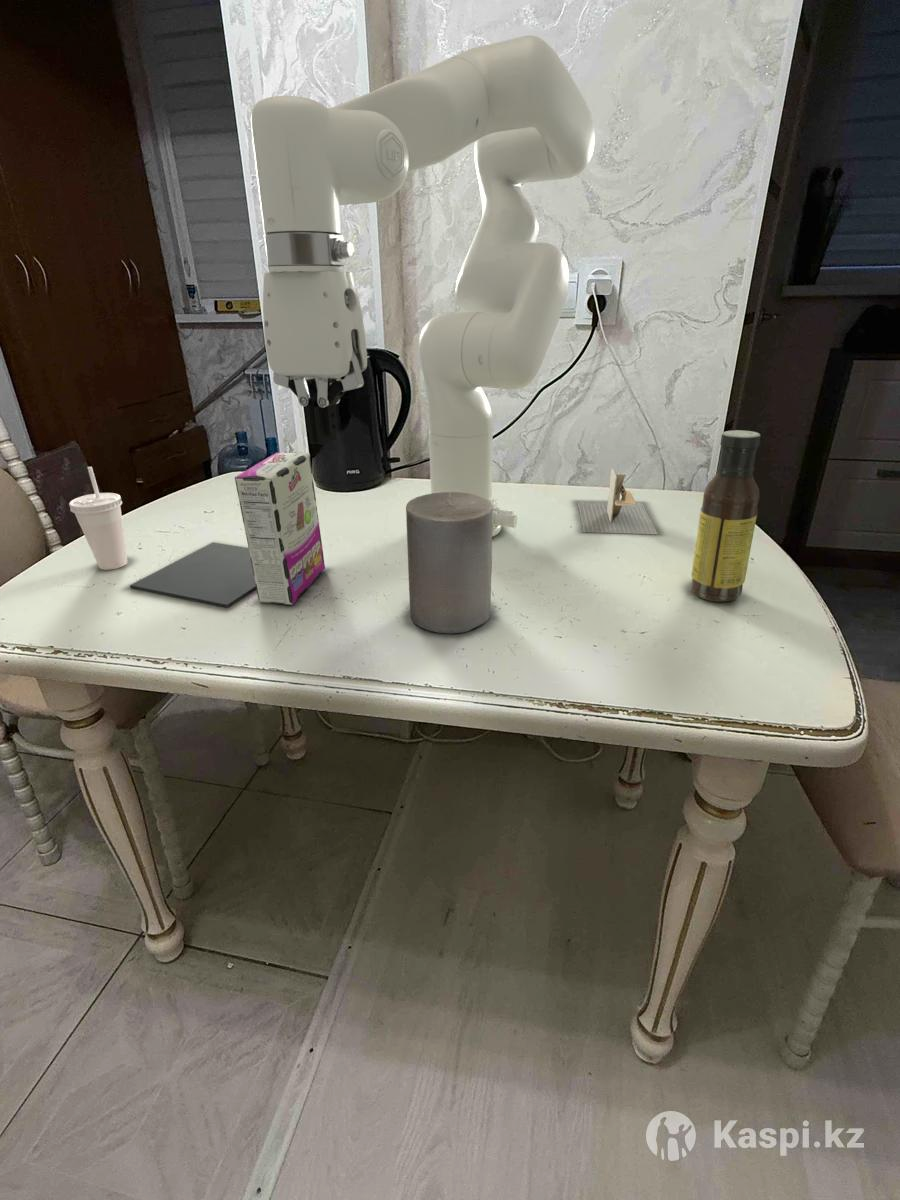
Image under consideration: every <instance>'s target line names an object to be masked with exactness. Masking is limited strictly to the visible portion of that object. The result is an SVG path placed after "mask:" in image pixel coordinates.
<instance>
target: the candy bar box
mask: <svg viewBox="0 0 900 1200" xmlns="http://www.w3.org/2000/svg"><path fill="white" fill-rule="evenodd" d="M312 469H313V468H312V461H311V454H310V453H308V452H292V451H291V452H286V451H279V452H275V453H274V454H271V455H270V456H268V457H266V458H264V459H263V460H261V461H259V462H258V463H256V464H254V465H252V466H251V467H250V468H248V469H246V470H243V472H241V473H239V474H238V475H236V476H234V482H235V486H236V487H235V488H236V492H237V497H238V501H239V508H240V512H241V518H242V523H243V527H244V533H245V536H246V542H247V548H249V553H250V558H251V563H252V568H253V574H254V579H255V584H256V589H255V590H256V594H257V599H258V602H259V603H262V604H272V605H285V606H292V605H294V604H295V603H296V602H297V601H299V599H300V598H301V597H302V595H303V594H304V593H306V591H307V590H308V589H309V588H310V586H312V584H313V583H314V582H315V581H316V580H317V579H318V577H319V576H320V575H322V573H323V572H324V571H325V570H326V565H325V557H324V551H323V542H322V535H321V528H320V520H319V514H318V505H317V498H316V491H315V483H314V476H313V470H312Z"/></svg>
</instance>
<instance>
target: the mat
mask: <svg viewBox="0 0 900 1200" xmlns="http://www.w3.org/2000/svg"><path fill="white" fill-rule="evenodd" d="M129 587H130V589H135V590H140V591H145V592H149V593H154V594H157V595H158V594H159V595H163V596H168V597H172V598H173V597H174V598H179V599H184V600H189V601H193V602H198V603H204V604H208V605H212V606H218V607H223V608H230V607H231V606H232V605H234V604H235V603H237V602H239V601H240V600H242V599H243V598H245V597H246V596H248V595H250V594H251V593H252V592H254V591H256V590H257V589H256V584H255V579H254V574H253V568H252V563H251V558H250V553H249V548H248V547H245V546H237V545H232V544H225V543H218V542H211V543H209V544H207V545H205V546H203V547H201V548H199V549H197V550H195V551H193V552H192V553H189V554H187V555H186V556H183V557H182V558H180V559H178V560H176V561H174V562H172V563H170V564H168V565H166V566H163V568H161V569H158V570H156V571H155V572H153V573H151V574H149V575H147V576H145V577H143V578H141V579H139V580H137V581H136V582H134V583H131V584H129Z"/></svg>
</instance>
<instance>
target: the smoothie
mask: <svg viewBox="0 0 900 1200" xmlns="http://www.w3.org/2000/svg"><path fill="white" fill-rule="evenodd" d="M87 471H88V475H89V478H90V482H91V486H92V489H93V492H94V493H90V494H85V495H82V496H78V497H76V498H74V499H72V500H70V502H68V506H69V508H70V509H69V511H70V512H71V513H73V514H74V515H75V517H76V520H77V522H78V524H79V526H80V528H81V531H82V533H83V535H84V537H85V540H86V542H87V544H88V546H89V549H90V551H91V553H92V555H93V557H94V559H95V561H96V563H97V565H98V568H99V569H100V570H105V571H108V570H109V571H111V570H115V569H119V568H120V569H121V568H122V567H124V566H126V565H127V564H128V555H127V548H126V540H125V532H124V531H125V530H124V524H123V516H122V507H121V506H122V505H123V501H122V497H121V495H120V494H119V493H114V492H100V490H99V487H98V484H97V480H96V476H95V473H94V469H93V466H87Z"/></svg>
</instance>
